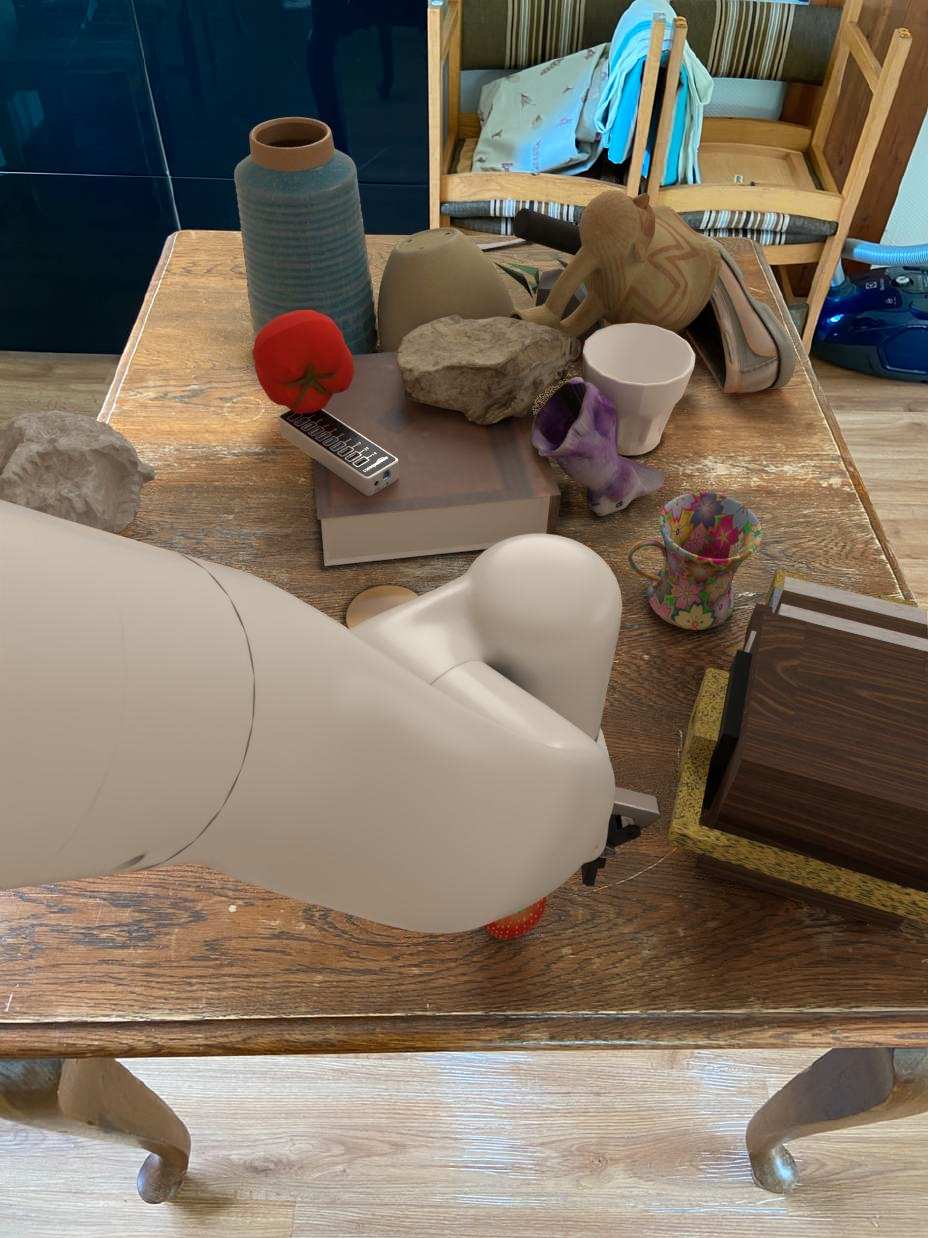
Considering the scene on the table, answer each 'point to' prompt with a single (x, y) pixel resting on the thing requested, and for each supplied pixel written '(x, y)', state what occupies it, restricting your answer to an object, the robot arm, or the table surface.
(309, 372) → the tomato
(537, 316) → the ceramic vessel
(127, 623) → the robot arm
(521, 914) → the fruit
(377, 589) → the coaster
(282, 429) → the multiport hub
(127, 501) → the stone
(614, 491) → the figurine
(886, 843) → the brown wooden box
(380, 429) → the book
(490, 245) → the knife
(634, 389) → the cup
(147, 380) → the table surface
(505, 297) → the flower pot
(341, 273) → the vase
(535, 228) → the flashlight
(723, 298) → the loafer
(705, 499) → the mug
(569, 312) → the succulent plant
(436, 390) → the rock
